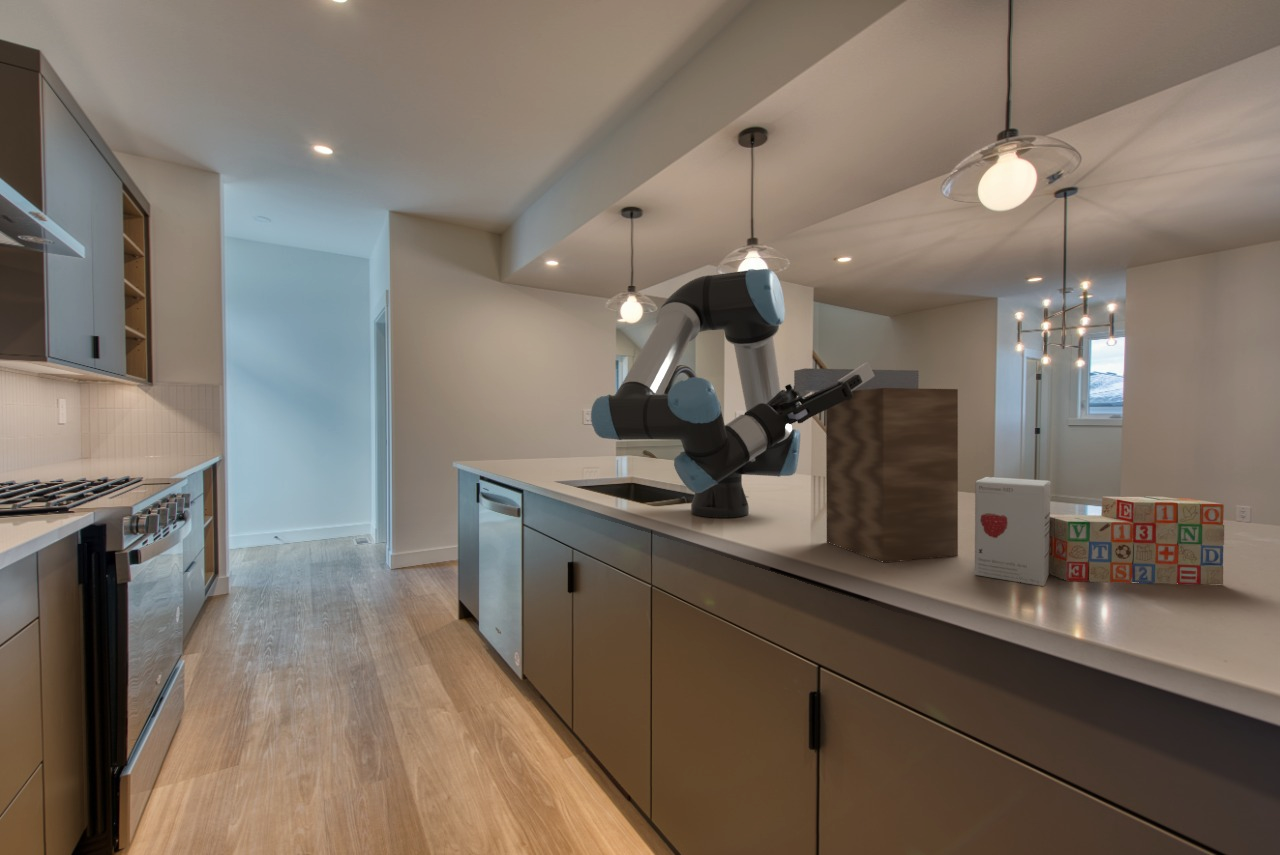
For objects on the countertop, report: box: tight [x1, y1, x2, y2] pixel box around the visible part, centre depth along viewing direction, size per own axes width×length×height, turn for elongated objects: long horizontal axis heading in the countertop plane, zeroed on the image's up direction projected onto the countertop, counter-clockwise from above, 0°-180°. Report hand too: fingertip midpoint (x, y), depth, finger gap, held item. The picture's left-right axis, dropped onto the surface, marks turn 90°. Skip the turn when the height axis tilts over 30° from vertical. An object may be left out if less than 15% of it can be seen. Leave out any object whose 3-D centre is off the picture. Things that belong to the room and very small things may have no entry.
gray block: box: [793, 368, 919, 393], centre depth 101 cm, size 4×24×4 cm, turn 103°
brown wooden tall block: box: [825, 388, 959, 563], centre depth 101 cm, size 16×16×34 cm
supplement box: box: [974, 476, 1052, 587], centre depth 83 cm, size 9×9×15 cm
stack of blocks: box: [1049, 495, 1225, 585], centre depth 82 cm, size 21×6×12 cm, turn 84°
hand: (844, 372), depth 98 cm, fingers open, 13 cm apart
